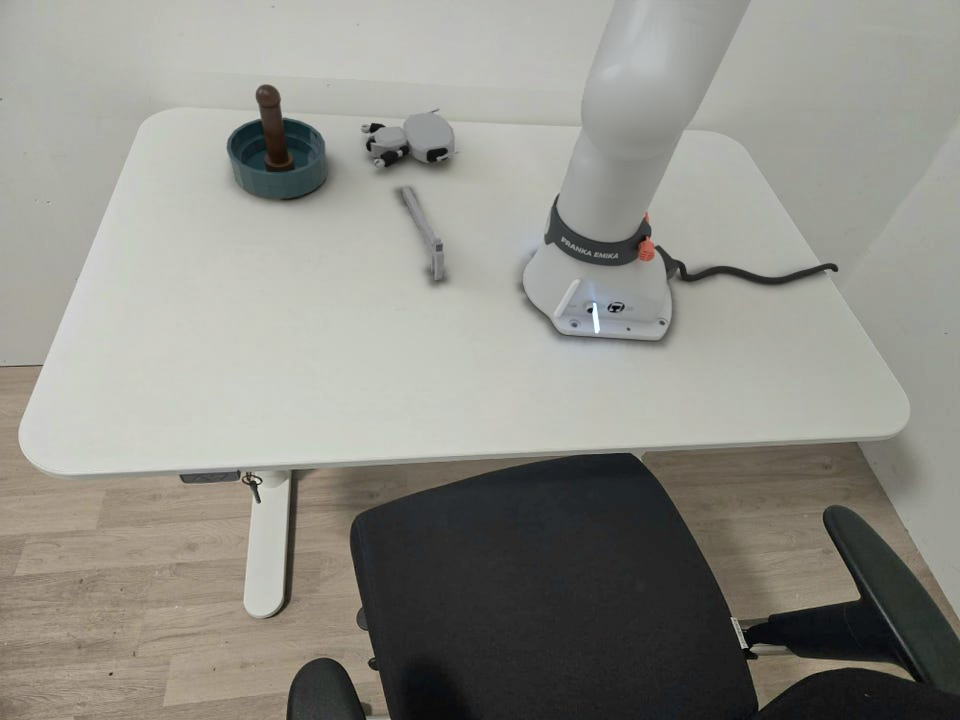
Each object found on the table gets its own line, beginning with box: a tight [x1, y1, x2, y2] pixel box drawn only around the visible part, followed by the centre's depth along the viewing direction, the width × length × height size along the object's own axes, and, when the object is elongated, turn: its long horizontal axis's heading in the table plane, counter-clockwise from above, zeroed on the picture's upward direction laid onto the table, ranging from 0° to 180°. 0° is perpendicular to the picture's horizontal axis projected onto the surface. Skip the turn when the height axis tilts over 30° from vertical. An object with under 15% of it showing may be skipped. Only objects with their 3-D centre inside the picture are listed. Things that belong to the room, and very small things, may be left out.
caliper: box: [400, 187, 445, 281], centre depth 85 cm, size 20×1×6 cm, turn 19°
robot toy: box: [360, 107, 461, 169], centre depth 97 cm, size 12×4×15 cm
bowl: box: [226, 117, 328, 200], centre depth 89 cm, size 14×14×5 cm
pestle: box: [254, 83, 295, 172], centre depth 85 cm, size 4×4×14 cm
